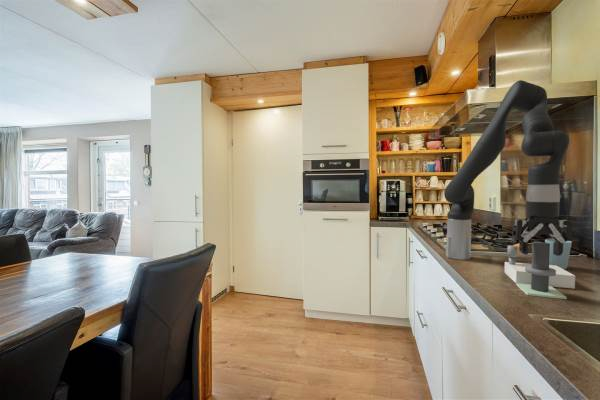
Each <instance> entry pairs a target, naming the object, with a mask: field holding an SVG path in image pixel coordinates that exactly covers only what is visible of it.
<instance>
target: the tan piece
mask: <svg viewBox="0 0 600 400" xmlns="http://www.w3.org/2000/svg"><path fill="white" fill-rule="evenodd" d="M506 251H507V252H506V253H507V254H506V256H507V257H508V258H509V257H516V258H518V256H519V255H520V254H522V253H521V252H520V250H519V242H518V243H516V244H513V245H507V250H506Z"/></svg>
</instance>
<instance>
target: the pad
mask: <svg viewBox="0 0 600 400" xmlns="http://www.w3.org/2000/svg"><path fill="white" fill-rule="evenodd" d="M515 284H516V286H517V287H518V288H519V289H520V290H521V291H522V292H523V293H525V294H526V295H527V296H530V297H531V296H533V297H539V298H540V297H541V298H549V299H550V298H553V299H561V300H568V299H567V297H568V296H566V295H565V294H563V293H562V292H560V291H559V290H557V289H556V288H555V287H552V286H549V290H548V292H540V291H535V290H533V289H531V285H530V284H519V283H515Z"/></svg>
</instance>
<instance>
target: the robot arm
mask: <svg viewBox="0 0 600 400" xmlns="http://www.w3.org/2000/svg"><path fill="white" fill-rule="evenodd" d="M512 109H514V110H517V111H520V112H523V113H525V115H524V116H523V117H522V119H521V126H522V130H523V132H524V137H523V139H522V142H521V152H522V153H523V154H524V155H525V156H527V157H549V159H548V161H546V162H543V163H539V164H534V165H531V166H529V167H528V172H527V188H526V193H525V194H526V195H525V216H526V218H525V219H523V220H522V219H517V218H514V219H513V225H512V235H511V238H513V239H515V240H517V241H519V242H518V243H519V250H520V252H521V254H523V255H527V256H528V254H529V242H528V241H529V240H531V238H532V237H535V235H538V236H540V235H545V236H550V237H551V239H554V240H555V242H554V244H553V254H554V255H557V256H561V254H562V253H563V243H564V242H566V241H571V242H572V240H573V232H572V231H573V229H572V225H573V223H572V221H571V220H567V219H561V220H559V216H560V202H561V201H560V200H561V192H560V170H561V166H562V162H563V159H564V157H565V154H566V152H567V150H568V148H569V144H570V137H569V135H568V133H566V132H565V131H564V130H555V129H554V128H555V127H554V123H553V121H552V119H551V116H550V115H549V112H548V93H547V90H546V89H545V88H544V87H542V86H540V85H537V84H535V83H534V84H533V83H532V82H528V81H525V80H521V79H520V80H516V81H515V82H514V83H513V84H512V85H511V86H510V88H509V89H508V90H507V92H506V94H505V95H504V97H503V99H502V101H501V103H500V104H499V106H498V108H497V110H496V112H495V114H494V115H493V117H492V118H491V121H490V122H489V124H488V125H487V127H486V128H485V129H484V131H483V133H482V134H481V136H480V137H479V139H478V140H477V141H476V143H475V145H474V147H472V150H471V151H470V153H469V155H467V157H466V159H465V161H464V163H463V164H462V166H461V167H460V168H459V170H458V172H457V173H456V174H455V175H454V176H453V178H452V179H451V181H449V182H448V184H447V185H446V187H445V189H444V193H443V195H444V198H445V199H444V200H446V201H447V202H448V203H450V204H451V208H450V210H448V211H447V214H446V215H447V216H446V217H447V218H446V219H447V221H446V222H447V224H446V225H447V226H446V227H447V229H446V230H447V231H446V236H445V239H446V243H445V245H446V247H445V255H446V257H447V258H448V259H454V260H464V261H465V260H466V261H467V260H471V257H472V256H471V255H472V252H471V251H472V215H473V213H474V209H475V207H474V205H475V189H474V187H473V185H472V184H473V183H474V181H475V180H476V179H477V178H478V177H479V176H480V175H481V174H482V173H483V172H484V171H485V170H487V169H488V168H489V167H490V166H491V165H492V164H493V163H494V162H495V161H496V159H497V158H498V157H499V155H500V154H501V152H502V151H503V150H504V148H505V146H506V138H507V137H506V124H507V119H508V116H509V114H510V112H511V110H512ZM524 226H526V228H525V229H524V230H523V227H524ZM558 227H560V231H559V230H558V229H557V228H558ZM522 230H523V232H522ZM560 232H561V233H560Z"/></svg>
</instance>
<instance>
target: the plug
mask: <svg viewBox="0 0 600 400" xmlns="http://www.w3.org/2000/svg"><path fill="white" fill-rule="evenodd" d="M549 255H550V244H549V243H545V241H533V242H531V264H532V265H528V266H525V271H526V272H528V273H531V289H533V290H535V291H540V292H548V290H549V276H555V275H556V270H555V269H552V268H549Z"/></svg>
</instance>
